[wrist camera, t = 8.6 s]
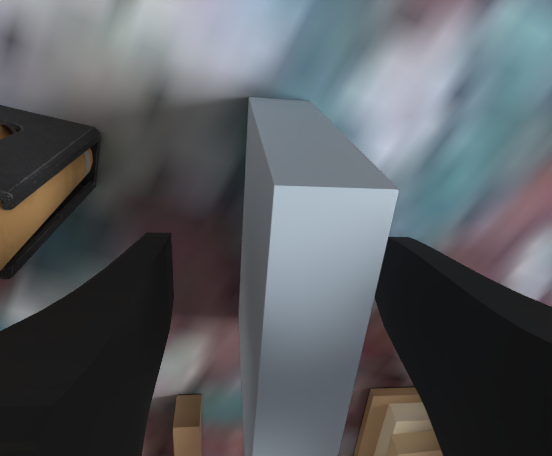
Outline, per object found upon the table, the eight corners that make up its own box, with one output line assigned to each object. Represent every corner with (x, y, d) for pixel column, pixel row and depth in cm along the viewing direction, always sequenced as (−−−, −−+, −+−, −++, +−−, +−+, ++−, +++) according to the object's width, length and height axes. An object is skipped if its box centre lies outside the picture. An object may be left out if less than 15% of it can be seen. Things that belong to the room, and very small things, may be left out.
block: (309, 100, 12) (398, 188, 6) (285, 316, 16) (325, 511, 9) (248, 96, 12) (274, 185, 6) (238, 316, 15) (247, 517, 9)
